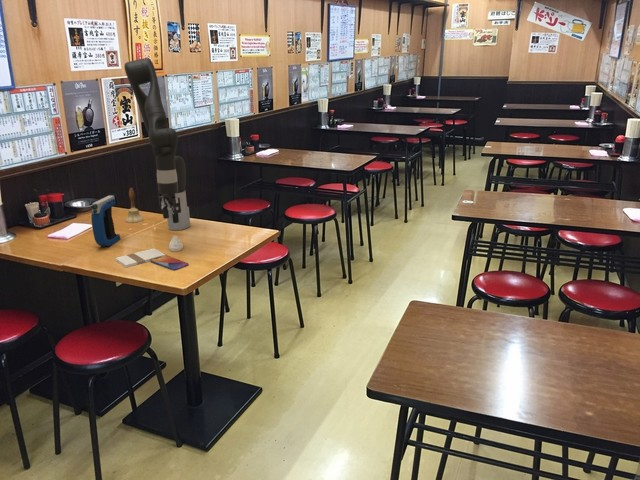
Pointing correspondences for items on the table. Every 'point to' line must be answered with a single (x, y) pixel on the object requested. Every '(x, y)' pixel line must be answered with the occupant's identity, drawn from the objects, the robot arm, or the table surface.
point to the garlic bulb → (175, 244)
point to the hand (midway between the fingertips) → (171, 220)
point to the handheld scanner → (104, 221)
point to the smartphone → (169, 262)
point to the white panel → (139, 257)
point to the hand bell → (133, 210)
